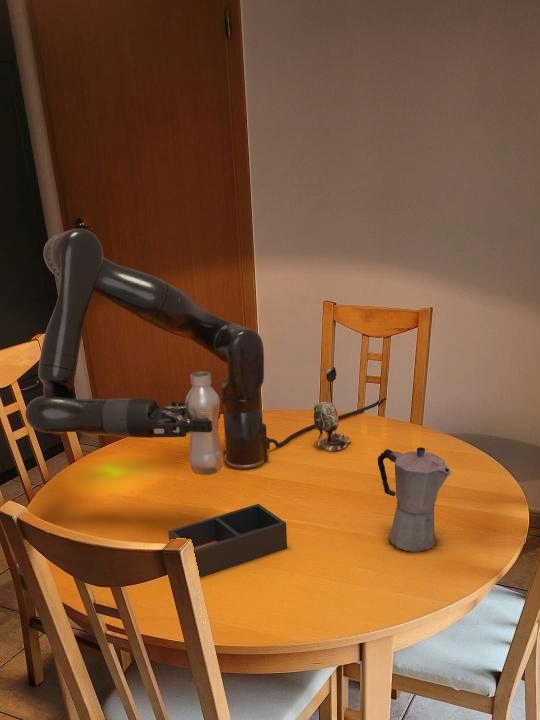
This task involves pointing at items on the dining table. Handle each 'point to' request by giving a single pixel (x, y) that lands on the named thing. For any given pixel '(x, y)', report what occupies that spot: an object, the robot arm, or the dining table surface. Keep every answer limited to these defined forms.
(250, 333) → the robot arm
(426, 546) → the moka pot
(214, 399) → the plastic bottle
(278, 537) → the compartment box
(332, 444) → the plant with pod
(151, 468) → the dining table surface
